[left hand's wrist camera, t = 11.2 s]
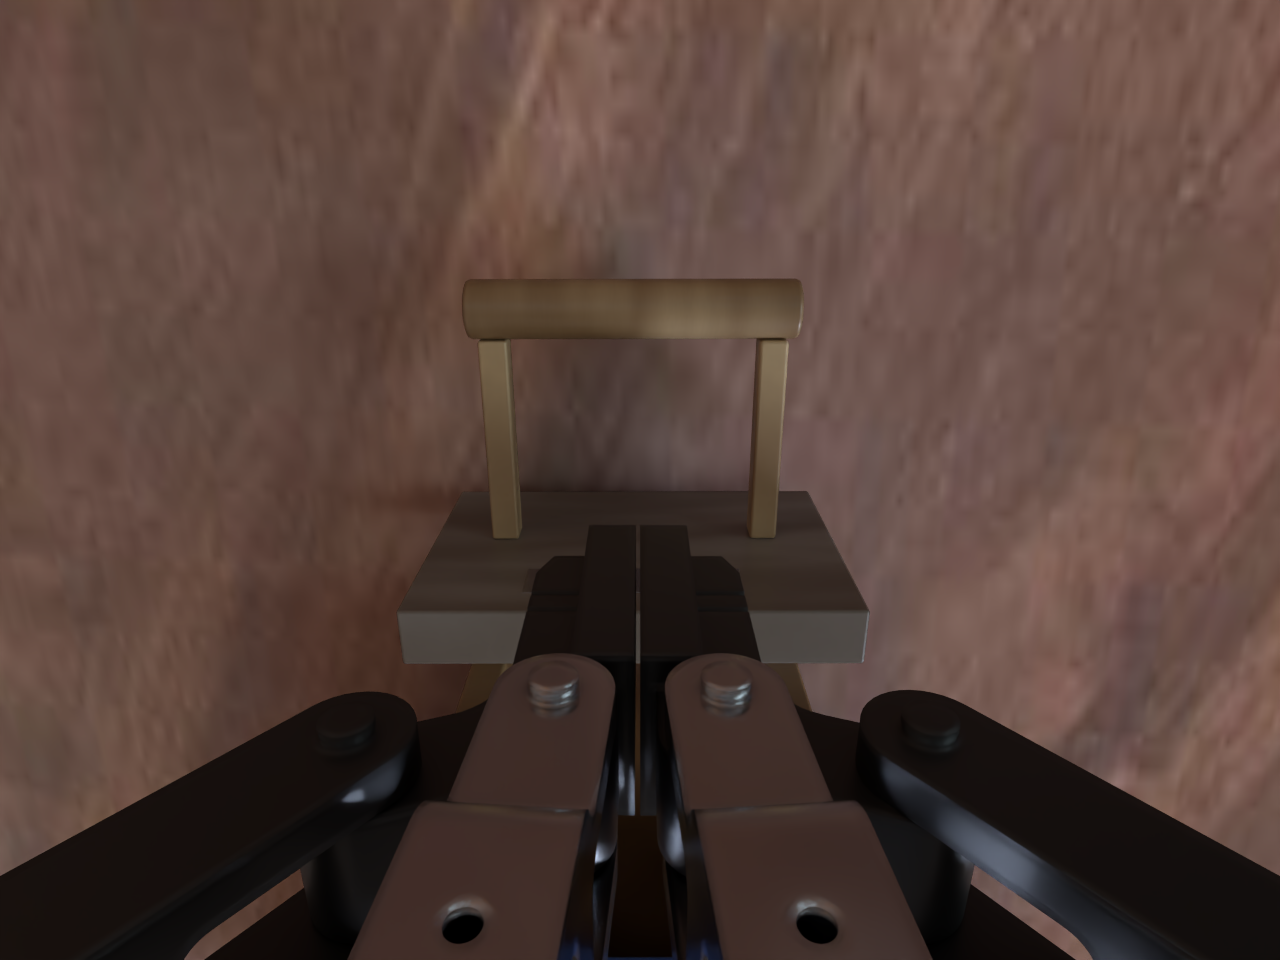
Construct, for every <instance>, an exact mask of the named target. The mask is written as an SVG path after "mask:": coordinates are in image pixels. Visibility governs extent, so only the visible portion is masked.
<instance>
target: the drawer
mask: <svg viewBox="0 0 1280 960" xmlns="http://www.w3.org/2000/svg"><path fill="white" fill-rule="evenodd" d="M803 313H804V295H803V288H802V285H801V282H800V280H798V279H470V280H468V281H466V282H465V285H464V288H463V294H462V314H463V322H464V327H465V330H466V333H467V335H468V337H469V338H471V339H480V340H479V342H478V355H479V368H480V381H481V393H482V406H483V419H484V432H485V445H486V457H487V470H488V483H489V492H462V494H461V496H460V497H459V499H458V501H457V503H456V505H455V507H454V508H453V510H452V512H451V514H450V516H449V517H448V519H447V521H446V523H445V525H444V527H443V528H442V530H441V532H440V534H439V536H438V538H437V539H436V541H435V543H434V545H433V547H432V548H431V550H430V552H429V554H428V556H427V558H426V559H425V561H424V563H423V565H422V567H421V568H420V570H419V572H418V574H417V576H416V578H415V579H414V581H413V583H412V585H411V587H410V589H409V590H408V592H407V594H406V596H405V598H404V599H403V601H402V603H401V605H400V607H399V609H398V610H397V620H398V627H399V635H400V642H401V650H402V657H403V662H404V663H405V664H472V665H471V668H470V671H469V674H468V677H467V680H466V683H465V686H464V689H463V692H462V695H461V698H460V701H459V704H458V707H457V709H456V712H455V713H459V712H462V711H464V710H467V709H470V708H472V707H474V706H477V705H479V704H481V703H483V702H484V701H486V700H487V699H488V698H489V696H490V693H491V691H492V688H493V686H494V684H495V682H496V680H497V679H498V678H499V676H500V675H501V674H502V673H503V672H504V671H506V670H507V669H508V668H509V667H511V666H513V662H514V658H515V654H516V650H517V646H518V642H519V638H520V634H521V630H522V627H523V623H524V619H525V615H526V611H527V607H528V603H529V599H530V595H531V593H532V592H531V591H532V587H533V584H534V580H535V576H536V572H537V571H538V570H539V569H541V568H542V567H543V566H544V565H545V564H546V563H547V562H548V561H549V560H550V559H551V558H553V557H554V556H585V550H586V543H587V536H588V529H589V525H636V721H635V815H618V832H617V851H618V875H617V884H616V892H615V900H614V908H613V917H612V925H611V933H610V941H609V949H608V957H672V949H671V941H670V933H669V925H668V917H667V908H666V900H665V892H664V884H663V875H662V853H661V851H660V848H659V846H658V840H657V816H640V525H687V530H688V538H689V545H690V553H691V556H722V557H723V558H724V559H725V560H726V561H727V562H729V563H730V564H731V565H732V566H733V567H734V568H735V569H736V570H737V571H738V572H739V573H740V577H741V581H742V585H743V589H744V595H745V597H746V602H747V606H748V612H749V614H750V618H751V622H752V626H753V630H754V634H755V638H756V642H757V646H758V651H759V655H760V659H761V662H762V663H764V664H766V665H767V666H769V667H771V668H772V669H773V670H774V671H776V672H777V673H778V674H779V675H780V676H781V678H782V679H783V680H784V682H785V684H786V686H787V688H788V691H789V693H790V696H791V698H792V701H793V703H794V704H795V705H797V706H799V707H801V708H804V709H806V710H809V711H812V709H811V706H810V703H809V700H808V696H807V693H806V690H805V687H804V684H803V681H802V678H801V674H800V671H799V668H798V665H797V663H863V661H864V655H865V647H866V639H867V630H868V622H869V614H870V612H869V609H868V607H867V605H866V603H865V601H864V600H863V598H862V596H861V594H860V592H859V590H858V588H857V586H856V584H855V582H854V580H853V578H852V576H851V574H850V572H849V571H848V569H847V567H846V565H845V563H844V561H843V559H842V557H841V555H840V553H839V551H838V549H837V547H836V545H835V543H834V542H833V540H832V538H831V536H830V534H829V532H828V530H827V528H826V526H825V524H824V522H823V520H822V518H821V516H820V514H819V513H818V511H817V509H816V507H815V505H814V503H813V501H812V499H811V497H810V495H809V493H808V492H807V491H779V479H780V464H781V450H782V435H783V420H784V406H785V391H786V376H787V361H788V347H789V343H788V341H787V340H786V339H794V338H796V337H798V335H799V333H800V330H801V327H802V322H803ZM510 339H757V340H756V359H755V378H754V397H753V416H752V435H751V454H750V473H749V491H657V492H520V484H519V469H518V453H517V437H516V421H515V405H514V389H513V373H512V357H511V341H510Z"/></svg>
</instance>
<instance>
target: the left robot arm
mask: <svg viewBox="0 0 1280 960" xmlns="http://www.w3.org/2000/svg"><path fill="white" fill-rule="evenodd" d="M531 592H532V593H531V595H530V599H529V603H528V607H527V611H526V615H525V619H524V623H523V627H522V630H521V634H520V638H519V642H518V646H517V650H516V654H515V658H514V662H513V666H511V667H509V668H508V669H507V670H506V671H504V672H503V673H502V674H501V675H500V676H499V678H498V679H497V680H496V682H495V684H494V686H493V688H492V691H491V693H490V696H489V698H488V699H487V700H486V701H484V702H483V703H481V704H479V705H477V706H474V707H472V708H470V709H467V710H464V711H462V712H459V713H455V714H451V715H447V716H442V717H438V718H433V719H429V720H424V721H419V722H417V718H416V714H415V712H414V710H413V708H412V707H411V706H410V704H408V703H407V702H406V701H404V700H403V699H401V698H399V697H397V696H394V695H391V694H388V693H381V692H356V693H350V694H344V695H341V696H337V697H333V698H330V699H328V700H325V701H322V702H320V703H318V704H316V705H314V706H312V707H310V708H308V709H306V710H305V711H303V712H301V713H299V714H297V715H295V716H293V717H292V718H290V719H288V720H286V721H284V722H282V723H281V724H279V725H277V726H275V727H273V728H271V729H270V730H268V731H266V732H264V733H262V734H260V735H259V736H257V737H255V738H253V739H251V740H249V741H248V742H246V743H244V744H242V745H240V746H238V747H237V748H235V749H233V750H231V751H229V752H227V753H225V754H224V755H222V756H220V757H218V758H216V759H214V760H213V761H211V762H209V763H207V764H205V765H203V766H202V767H200V768H198V769H196V770H194V771H192V772H191V773H189V774H187V775H185V776H183V777H181V778H180V779H178V780H176V781H174V782H172V783H170V784H169V785H167V786H165V787H163V788H161V789H159V790H157V791H156V792H154V793H152V794H150V795H148V796H146V797H145V798H143V799H141V800H139V801H137V802H135V803H134V804H132V805H130V806H128V807H126V808H124V809H123V810H121V811H119V812H117V813H115V814H113V815H112V816H110V817H108V818H106V819H104V820H102V821H101V822H99V823H97V824H95V825H93V826H91V827H89V828H88V829H86V830H84V831H82V832H80V833H78V834H77V835H75V836H73V837H71V838H69V839H67V840H66V841H64V842H62V843H60V844H58V845H56V846H55V847H53V848H51V849H49V850H47V851H45V852H44V853H42V854H40V855H38V856H36V857H34V858H33V859H31V860H29V861H27V862H25V863H23V864H21V865H20V866H18V867H16V868H14V869H12V870H10V871H9V872H7V873H5V874H3V875H1V876H0V960H184V958H185V957H186V955H187V954H188V953H189V951H190V950H191V949H192V948H193V947H194V945H195V944H196V943H197V942H198V941H199V940H200V939H201V938H202V937H204V936H205V935H206V934H207V933H209V932H210V931H211V930H212V929H214V928H215V927H217V926H218V925H220V924H221V923H222V922H224V921H225V920H227V919H228V918H230V917H231V916H233V915H234V914H235V913H237V912H238V911H240V910H241V909H243V908H244V907H245V906H247V905H248V904H250V903H251V902H253V901H254V900H255V899H257V898H258V897H260V896H261V895H263V894H264V893H265V892H267V891H268V890H270V889H271V888H273V887H274V886H275V885H277V884H278V883H280V882H281V881H283V880H284V879H285V878H287V877H288V876H290V875H291V874H293V873H294V872H295V871H297V870H298V869H300V870H301V875H302V880H303V884H304V888H303V889H302V890H300V891H299V892H298V893H296V894H295V895H293V896H292V897H291V898H289V899H288V900H286V901H285V902H284V903H282V904H281V905H280V906H278V907H277V908H275V909H274V910H273V911H271V912H270V913H268V914H267V915H266V916H264V917H263V918H262V919H260V920H259V921H257V922H256V923H255V924H253V925H252V926H250V927H249V928H248V929H246V930H245V931H244V932H242V933H241V934H239V935H238V936H237V937H235V938H234V939H232V940H231V941H230V942H228V943H227V944H225V945H224V946H223V947H221V948H220V949H219V950H217V951H216V952H214V953H213V954H212V955H210V956H209V957H207V958H206V959H205V960H607V958H608V949H609V941H610V933H611V925H612V917H613V908H614V900H615V892H616V884H617V875H618V851H617V832H618V815H635V721H636V525H589V529H588V536H587V543H586V550H585V556H554V557H553V558H551V559H550V560H549V561H548V562H547V563H546V564H545V565H544V566H543V567H542V568H541V569H539V570H538V571H537V572H536V576H535V580H534V584H533V587H532V591H531ZM640 816H657V840H658V846H659V848H660V851H661V853H662V875H663V884H664V892H665V900H666V908H667V917H668V925H669V933H670V941H671V949H672V958H673V960H1075V959H1074V958H1073V957H1071V956H1070V955H1068V954H1067V953H1066V952H1064V951H1063V950H1061V949H1060V948H1059V947H1057V946H1056V945H1054V944H1053V943H1052V942H1050V941H1049V940H1048V939H1046V938H1045V937H1043V936H1042V935H1041V934H1039V933H1038V932H1036V931H1035V930H1034V929H1032V928H1031V927H1030V926H1028V925H1027V924H1025V923H1024V922H1023V921H1021V920H1020V919H1018V918H1017V917H1016V916H1014V915H1013V914H1012V913H1010V912H1009V911H1007V910H1006V909H1005V908H1003V907H1002V906H1000V905H999V904H998V903H996V902H995V901H993V900H992V899H991V898H989V897H988V896H987V895H985V894H984V893H982V892H981V891H980V890H978V889H977V888H975V887H974V886H973V885H971V879H972V874H973V870H974V865H976V866H977V867H979V868H980V869H982V870H983V871H985V872H986V873H987V874H989V875H990V876H992V877H993V878H995V879H996V880H997V881H999V882H1000V883H1002V884H1003V885H1005V886H1006V887H1007V888H1009V889H1010V890H1012V891H1013V892H1015V893H1016V894H1017V895H1019V896H1020V897H1022V898H1023V899H1025V900H1026V901H1027V902H1029V903H1030V904H1032V905H1033V906H1035V907H1036V908H1037V909H1039V910H1040V911H1042V912H1043V913H1045V914H1046V915H1047V916H1049V917H1050V918H1052V919H1053V920H1055V921H1056V922H1057V923H1059V924H1060V925H1062V926H1063V927H1065V928H1066V929H1067V930H1068V931H1070V932H1071V933H1072V934H1073V935H1074V936H1075V937H1076V938H1077V939H1078V940H1079V941H1080V942H1081V943H1082V944H1083V945H1084V946H1085V948H1086V949H1087V950H1088V952H1089V953H1090V955H1091V956H1092V958H1093V960H1280V876H1279V875H1277V874H1275V873H1273V872H1271V871H1270V870H1268V869H1266V868H1264V867H1262V866H1260V865H1258V864H1257V863H1255V862H1253V861H1251V860H1249V859H1247V858H1246V857H1244V856H1242V855H1240V854H1238V853H1236V852H1235V851H1233V850H1231V849H1229V848H1227V847H1225V846H1224V845H1222V844H1220V843H1218V842H1216V841H1214V840H1213V839H1211V838H1209V837H1207V836H1205V835H1203V834H1202V833H1200V832H1198V831H1196V830H1194V829H1192V828H1190V827H1189V826H1187V825H1185V824H1183V823H1181V822H1179V821H1178V820H1176V819H1174V818H1172V817H1170V816H1168V815H1167V814H1165V813H1163V812H1161V811H1159V810H1157V809H1156V808H1154V807H1152V806H1150V805H1148V804H1146V803H1145V802H1143V801H1141V800H1139V799H1137V798H1135V797H1134V796H1132V795H1130V794H1128V793H1126V792H1124V791H1122V790H1121V789H1119V788H1117V787H1115V786H1113V785H1111V784H1110V783H1108V782H1106V781H1104V780H1102V779H1100V778H1099V777H1097V776H1095V775H1093V774H1091V773H1089V772H1088V771H1086V770H1084V769H1082V768H1080V767H1078V766H1077V765H1075V764H1073V763H1071V762H1069V761H1067V760H1066V759H1064V758H1062V757H1060V756H1058V755H1056V754H1054V753H1053V752H1051V751H1049V750H1047V749H1045V748H1043V747H1042V746H1040V745H1038V744H1036V743H1034V742H1032V741H1031V740H1029V739H1027V738H1025V737H1023V736H1021V735H1020V734H1018V733H1016V732H1014V731H1012V730H1010V729H1009V728H1007V727H1005V726H1003V725H1001V724H999V723H998V722H996V721H994V720H992V719H990V718H988V717H986V716H985V715H983V714H981V713H979V712H977V711H975V710H974V709H972V708H970V707H968V706H966V705H964V704H962V703H960V702H958V701H956V700H954V699H951V698H948V697H946V696H943V695H939V694H935V693H931V692H925V691H917V690H898V691H892V692H887V693H884V694H881V695H879V696H877V697H875V698H873V699H872V700H870V701H869V702H868V703H867V704H866V705H865V707H864V708H863V710H862V713H861V716H860V723H858V722H854V721H849V720H844V719H840V718H835V717H831V716H826V715H822V714H818V713H815V712H812V711H809V710H806V709H804V708H801V707H799V706H797V705H795V704H794V703H793V701H792V698H791V696H790V693H789V691H788V688H787V686H786V684H785V682H784V680H783V679H782V678H781V676H780V675H779V674H778V673H777V672H776V671H774V670H773V669H772V668H771V667H769V666H767V665H766V664H764V663H762V662H761V659H760V655H759V651H758V646H757V642H756V638H755V634H754V630H753V626H752V622H751V618H750V614H749V612H748V606H747V602H746V597H745V595H744V589H743V585H742V581H741V577H740V573H739V572H738V571H737V570H736V569H735V568H734V567H733V566H732V565H731V564H730V563H729V562H727V561H726V560H725V559H724V558H723V557H722V556H691V553H690V545H689V538H688V530H687V525H640Z"/></svg>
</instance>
